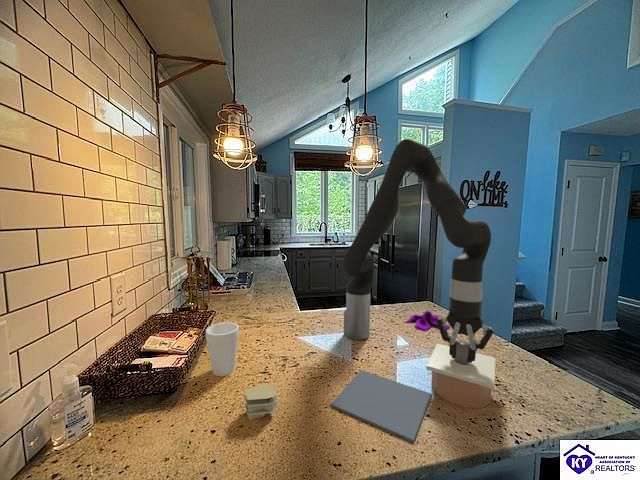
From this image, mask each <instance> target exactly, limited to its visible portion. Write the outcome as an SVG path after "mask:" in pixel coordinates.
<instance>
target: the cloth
mask: <svg viewBox="0 0 640 480" xmlns="http://www.w3.org/2000/svg"><path fill="white" fill-rule="evenodd" d="M438 317H441V316H440V315H437V314H436V315H435V314H432V312H431V311H429V310H425V312H423V314H421V315H419V314H414V315H411V316H410V317H409V318H408V319H407V320H406V321H405V323H406V324H411V323H413V322H415V325H414V329H417V330H420V331H421V332H422V331H423V332H428V331H429V330H430V329H431V326H432V327H435V328H437V329H439V327H438V325H437V322H436V321H437V319H438ZM445 327H446V330H448V329H450V328H451V326H450V324H449V325H448V324H447V323H446V325H445Z"/></svg>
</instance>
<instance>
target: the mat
mask: <svg viewBox="0 0 640 480" xmlns="http://www.w3.org/2000/svg"><path fill="white" fill-rule="evenodd" d="M431 398H432V393H431V392H428V391H425V390H422V389H420V388H417V387H412V386H411V385H408V384H404V383H401V382H397V381H395V380H392V379H388V378H387V377H382V376H379V375H377V374H374V373H372V372H368V371H365V370H363V369H362V370H360V371H359V372H358V373H357V374H356V375H355V376H354V378H352V379H351V381H350V382H349V383H348V384H347V385H346V386H345V387H344V388H343V389H342V391H341V392H340V393H339V394H338V395H337V396H336V397H335V398H334V399H333V401H331V403H330V405H329V406H330V407H331V408H334V409H336V410H338V411H340V412H343V413H345V414H347V415H349V416H352V417H353V418H357V419H359V420H361V421H363V422H366V423H368V424H370V425H372V426H375V427H377V428H379V429H382V430H384V431H386V432H388V433H390V434H393V435H395V436H397V437H399V438H402V439H404V440H407V441H409V442H412V443H414V442H415V440H416V437H417V435H418V432H419V429H420V427H421V424H422V422H423V419H424V417H425V413H426V410H427V409H428V405H429V403H430V401H431Z"/></svg>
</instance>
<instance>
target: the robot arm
mask: <svg viewBox="0 0 640 480" xmlns="http://www.w3.org/2000/svg"><path fill="white" fill-rule="evenodd" d="M407 172H408V173H411V174H415V176H416V177H418V178H419V179H420V180H421V181H422V183H423V184H424V186H425V189H426V190H425V191H426V196H427V199H428V201H429V203H430V205H431V207H432V208H433V210H434V211H435V213H436V214H437V216H438V217H439V218H440V221H441V225H442V228H443V231H444V234H445V238H446V239H447V240H448V242H449V243H450V244H451V245H453V246H454V247H456V248H458V249H459V248H460V249H463V250H462V253H461V254H460V255H458V256H456V257H454V258H453V260H452V265H451V280H450V287H449V302H448V303H449V304H448V305H449V306H448V307H449V308H448V314H447V316H445V317H442V316H440V317H438V319H437V321H436V322H437V325H438V327H439V328H438V330H439V332H440V336H441V338H442V341H444V342H447V343H448V344H449V347H450V349H449V354H450V355H451V356H452V358H454V359H455V343H456V341H457V337H458V335H464V336H466V337H468V343H469V344H470V349H469V363H472V361H475V357H476V353H477V350H484V349H485V347H486V346H487V344H488V342H489V341H490V339H491V338H492V336H493V334H494V327H493V326H488V325H486V324H484V322H483V320H482V308H483V307H482V306H483V305H482V303H483V302H482V301H483V297H484V295H483V272H484V271H483V270H484V269H483V266H484V262H485V260H486V258H487V255H488V252H489V250H490V249H489V248H490V245H491V241H492V231H491V229H490V228H491V227H490V226H489V225H488V223H486V222H485V221H484V220H481V219H480V220H478V219H476V220H475V219H473V220H472V219H471V220H470V219H466V217H464V216H465V214H466V212H467V206H466V204H465V202H464V201H463V200H462V198H461V197H460V196H459V195H458V193H457V191H455V190H454V188H453V187H452V186H451V185H450V183H449V182H448V180H447V179H446V177H445V176H444V174H443V173H442V170H441V169H440V167H439V164H438V163H437V161H436V159H435V157H434V155H433V153H432V151H431V149H430V148H429V147H428V146H427V145H425V144H423V143H421V142H420V141H419V142H418V141H416V140H413V139H411V138H405V139H402V140H401V141H400V142H398V144H397V145H396V147H395V148H394V150H393V152H392V154H391V157H390V160H389V163H388V164H387V169H386V171H385V174H384V177H383V178H382V181H381V184H380V186H379V188H378V190H377V192H376V195H375V197H374V199H373V200H372V202H371V205H370V207H369V208H368V211H367V213H366V215H365V218H364V220H363V222H362V224H361V226H360V228H359V230H358V233H357V234H356V237H355V238H354V240H353V242H352V244H351V245H350V246H349V248H348V250H347V251H346V253H345V255H344V257H343V260H342V269H343V271H344V273H345V274H346V275H348V276H350V277H352V278H351V280H350V281H349V282H348V283H347V284H346V287H345V288H346V292H345V293H346V295H345V297H346V298H345V299H346V301H345V302H346V304H345V305H346V306H345V310H344V311H343V336H345V337H347V338H349V339H352V340H357V341H358V340H359V341H360V340H361V341H362V340H366V339H368V338H370V326H371V324H370V323H371V322H370V321H371V292H372V291H371V290H372V286H373V284H374V276H375V275H374V272H375V262H374V261H375V260H374V257H373V255H372V253H371V252H370V250H371V249H372V247H374V245H375V244H376V243H377V242H378V241H379V240H380V239H381V238H382V237H383V236H384V235H385V234H386V233H387V231H388V230H389V229H390V228H391V226H392V225H393V222H394V220H395V218H396V216H397V215H398V212H399V206H400V205H399V204H400V203H399V191H400V186H401V183H402V180H403V178H404V177H405V175H406V173H407ZM447 323H448V324H449V326H450V328H451V329H452V333H451V336H450V335H449V332H448V329H446V327H445V325H446V324H447ZM481 329H482V334H483V336H482V337H481V338H480V341H477V340H476V333H478V331H479V330H481Z"/></svg>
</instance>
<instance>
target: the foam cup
mask: <svg viewBox="0 0 640 480" xmlns="http://www.w3.org/2000/svg"><path fill="white" fill-rule="evenodd" d="M205 329H206V330H205V340H206V343H207V349H208V353H209V354H208V355H209V359H210V366H211V371H212V374H213V375H214V376H217V377H224V376H225V377H226V376H229V375H230V374H232V373H233V372H234V371H235V367H236V361H237V353H238V352H237V351H238V346H239V345H238V344H239V336H240V325H239V324H237V323H235V322H220V323H219V322H218V323H215V324H212V325H209V326H208V327H206V328H205Z"/></svg>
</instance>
